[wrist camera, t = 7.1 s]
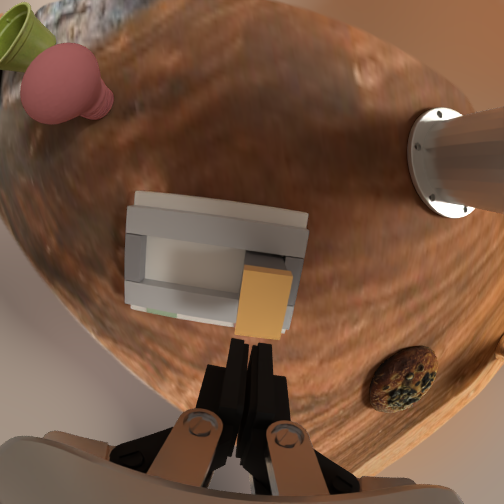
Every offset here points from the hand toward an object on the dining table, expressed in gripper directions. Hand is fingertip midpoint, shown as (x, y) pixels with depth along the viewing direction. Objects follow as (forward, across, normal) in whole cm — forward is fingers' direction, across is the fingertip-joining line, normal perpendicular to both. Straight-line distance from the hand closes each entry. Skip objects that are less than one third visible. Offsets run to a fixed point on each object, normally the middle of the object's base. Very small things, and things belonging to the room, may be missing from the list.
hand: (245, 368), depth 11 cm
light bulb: (+17, +18, -14) cm, 28 cm away
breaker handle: (+15, -1, +1) cm, 15 cm away
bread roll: (+18, -23, +13) cm, 32 cm away
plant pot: (+16, +33, -22) cm, 43 cm away
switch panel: (+16, +4, +1) cm, 17 cm away
